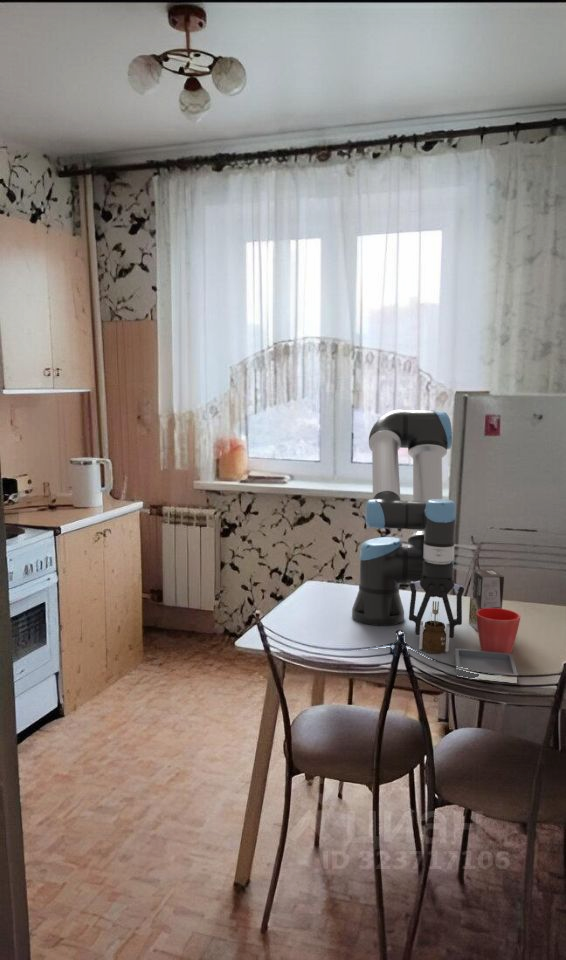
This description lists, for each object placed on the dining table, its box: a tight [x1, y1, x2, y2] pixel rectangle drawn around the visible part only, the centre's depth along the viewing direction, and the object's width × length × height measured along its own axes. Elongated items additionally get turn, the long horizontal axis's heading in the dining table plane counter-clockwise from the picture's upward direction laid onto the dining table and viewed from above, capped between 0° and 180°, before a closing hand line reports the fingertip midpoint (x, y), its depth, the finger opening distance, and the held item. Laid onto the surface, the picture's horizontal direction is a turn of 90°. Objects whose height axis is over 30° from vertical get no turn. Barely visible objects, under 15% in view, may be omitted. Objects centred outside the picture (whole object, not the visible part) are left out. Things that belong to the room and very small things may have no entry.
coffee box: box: [468, 568, 505, 632], centre depth 195 cm, size 9×6×16 cm
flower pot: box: [476, 608, 521, 654], centre depth 179 cm, size 11×11×10 cm
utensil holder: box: [422, 600, 446, 655], centre depth 178 cm, size 6×6×12 cm
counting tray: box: [454, 647, 519, 678], centre depth 167 cm, size 14×14×2 cm
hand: (433, 648), depth 179 cm, fingers closed on utensil holder, 6 cm apart
